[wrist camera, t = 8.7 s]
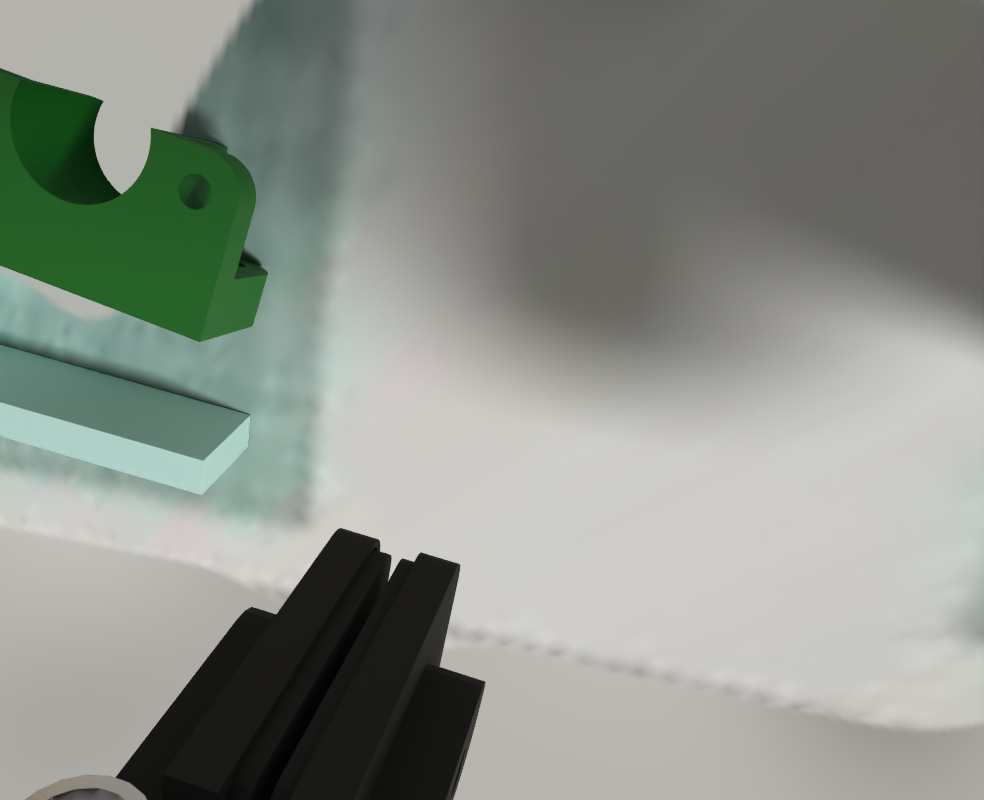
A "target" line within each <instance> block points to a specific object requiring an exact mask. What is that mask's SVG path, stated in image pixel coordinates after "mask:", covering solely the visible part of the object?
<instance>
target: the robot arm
mask: <svg viewBox="0 0 984 800" xmlns="http://www.w3.org/2000/svg"><path fill="white" fill-rule="evenodd" d="M390 566H391V555H389V554H386V553H383V552H380V541H379V540H378V539H375V538H372V537H368V536H365V535H362V534H358V533H355V532H352V531H349V530H345V529H342V528H340V529H338V530H337V531H336V532H335V533H334V534H333V536H332V537H331V538H330V540H329V541H328V543H327V544H326V545H325V547H324V548H323V550H322V551H321V552H320V554H319V555H318V557H317V558H316V559H315V561H314V562H313V564H312V565H311V567H310V568H309V569H308V571H307V572H306V574H305V575H304V576H303V578H302V579H301V581H300V582H299V583H298V585H297V586H296V588H295V589H294V590H293V592H292V593H291V595H290V596H289V598H288V599H287V600H286V602H285V603H284V605H283V606H282V607H281V609H280V610H279V612H278V613H277V614H273V613H269V612H266V611H263V610H260V609H257V608H253V607H251V608H249V609H247V610H245V611H244V612H243V614H242V615H241V616H240V617H239V618H238V619H237V620H236V622H235V623H234V624H233V625H232V627H231V628H230V629H229V631H228V632H227V634H226V635H225V636H224V637H223V638H222V640H221V641H220V642H219V644H218V645H217V646H216V648H215V649H214V650H213V652H212V653H211V654H210V655H209V657H208V658H207V659H206V661H205V662H204V663H203V664H202V666H201V667H200V668H199V670H198V671H197V672H196V674H195V675H194V676H193V677H192V679H191V680H190V681H189V683H188V684H187V685H186V687H185V688H184V689H183V691H182V692H181V693H180V694H179V696H178V697H177V698H176V700H175V701H174V702H173V704H172V705H171V706H170V707H169V709H168V710H167V711H166V713H165V714H164V715H163V717H162V718H161V719H160V720H159V722H158V723H157V724H156V726H155V727H154V728H153V729H152V731H151V732H150V733H149V735H148V736H147V737H146V739H145V740H144V741H143V742H142V744H141V745H140V746H139V748H138V749H137V750H136V752H135V753H134V754H133V755H132V757H131V758H130V760H129V761H128V762H127V763H126V765H125V766H124V767H123V769H122V770H121V771H120V773H119V774H118V775H117V776H116V778H115V777H112V776H103V775H102V776H100V775H83V776H78V777H73V778H68V779H63V780H60V781H58V782H56V783H53V784H51V785H49V786H47V787H44V788H42V789H40V790H38V791H36V792H35V793H33V794H32V795H31V796H30V797H28V798H27V799H25V800H453V798H454V795H455V792H456V789H457V786H458V782H459V779H460V776H461V773H462V769H463V766H464V763H465V759H466V756H467V752H468V749H469V745H470V742H471V738H472V734H473V731H474V727H475V723H476V719H477V716H478V712H479V708H480V704H481V700H482V696H483V691H484V687H485V682H484V681H481V680H478V679H475V678H472V677H468V676H466V675H462V674H460V673H457V672H453V671H450V670H447V669H444V668H441V667H439V666H440V662H441V657H442V652H443V648H444V643H445V638H446V634H447V629H448V624H449V620H450V615H451V610H452V606H453V601H454V596H455V591H456V587H457V582H458V577H459V572H460V564H457V563H454V562H451V561H447V560H444V559H441V558H437V557H434V556H431V555H428V554H424V553H420V554H419V555H418V556H417V558H416V560H415V562H412V561H409V560H406V559H401V560H400V562H399V563H398V565H397V567H396V569H395V570H394V572H393V574H392V576H391V578H390V579H389V581H388V578H389V572H390Z"/></svg>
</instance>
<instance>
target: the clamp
mask: <svg viewBox="0 0 984 800" xmlns="http://www.w3.org/2000/svg"><path fill="white" fill-rule="evenodd" d="M102 103H103V101H102V100H100V99H97V98H95V97H92V96H89V95H85V94H81V93H78V92H73V91H70V90H66V89H63V88H59V87H55V86H51V85H48V84H44V83H40V82H36V81H33V80H30V79H28V78H25V77H22V76H19V75H17V74H14V73H11V72H9V71H6V70H3V69H1V68H0V266H3V267H6V268H8V269H11V270H13V271H16V272H19V273H21V274H24V275H27V276H29V277H32V278H34V279H37V280H40V281H42V282H45V283H48V284H50V285H53V286H55V287H58V288H61V289H63V290H66V291H68V292H71V293H74V294H76V295H79V296H81V297H84V298H87V299H89V300H92V301H95V302H97V303H100V304H102V305H105V306H107V307H110V308H113V309H115V310H118V311H120V312H123V313H126V314H128V315H131V316H134V317H136V318H139V319H141V320H144V321H147V322H149V323H152V324H154V325H157V326H160V327H162V328H165V329H167V330H170V331H173V332H175V333H178V334H181V335H183V336H186V337H188V338H191V339H194V340H196V341H199V342H201V341H204V340H208V339H211V338H215V337H218V336H221V335H225V334H228V333H231V332H235V331H238V330H241V329H245V328H248V327H251V326H252V325H253V322H254V319H255V316H256V312H257V309H258V305H259V302H260V299H261V295H262V292H263V288H264V285H265V281H266V278H267V275H268V272H267V271H266V270H265V269H263V268H261V267H260V266H258V265H255V264H253V263H250V262H247V261H245V260H242V259H240V257H241V254H242V250H243V247H244V243H245V240H246V236H247V232H248V229H249V225H250V222H251V218H252V215H253V211H254V208H255V202H256V190H255V185H254V182H253V179H252V177H251V175H250V173H249V171H248V170H247V168H246V167H245V166H244V165H243V164H242V163H241V162H240V161H239V160H238V159H237V158H235V157H234V156H232V155H230V154H228V153H227V148H228V147H225V146H222V145H220V144H217V143H214V142H210V141H206V140H202V139H197V138H193V137H189V136H184V135H180V134H176V133H171V132H167V131H162V130H158V129H153V128H151V144H150V151H149V155H148V159H147V161H146V164H145V166H144V169H143V170H142V172H141V174H140V176H139V177H138V179H137V180H136V181H135V183H134V184H133V185H132V186H131V187H130V188H129V189H128V190H127V191H126V192H124V193H123V194H120V193H119V192H118V191H117V190H116V189H115V188H114V187H113V186H112V185H111V184H110V182H109V181H108V180H107V178H106V177H105V175H104V174H103V172H102V170H101V168H100V165H99V163H98V160H97V157H96V153H95V147H94V125H95V121H96V117H97V114H98V112H99V109H100V107H101V105H102Z"/></svg>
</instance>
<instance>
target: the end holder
mask: <svg viewBox="0 0 984 800" xmlns="http://www.w3.org/2000/svg"><path fill="white" fill-rule="evenodd" d="M249 427H250V415H248V414H244V413H241V412H237V411H234V410H230V409H227V408H223V407H220V406H216V405H212V404H209V403H205V402H202V401H198V400H195V399H191V398H188V397H184V396H181V395H177V394H173V393H170V392H166V391H163V390H159V389H156V388H152V387H149V386H145V385H142V384H138V383H135V382H131V381H127V380H124V379H120V378H117V377H113V376H110V375H106V374H103V373H99V372H96V371H92V370H89V369H85V368H81V367H78V366H74V365H71V364H67V363H64V362H60V361H57V360H53V359H50V358H46V357H42V356H39V355H35V354H32V353H28V352H25V351H21V350H18V349H14V348H11V347H7V346H4V345H0V436H2V437H5V438H8V439H12V440H15V441H19V442H22V443H25V444H29V445H32V446H36V447H39V448H43V449H46V450H49V451H53V452H56V453H60V454H63V455H67V456H70V457H73V458H77V459H80V460H84V461H87V462H91V463H94V464H97V465H101V466H104V467H108V468H111V469H114V470H118V471H121V472H125V473H128V474H132V475H135V476H138V477H142V478H145V479H149V480H152V481H156V482H159V483H162V484H166V485H169V486H173V487H176V488H180V489H183V490H186V491H190V492H193V493H197V494H200V495H202V494H203V493H204V492H205V491H206V490H207V489H208V488H209V487H210V486H211V485H212V484H213V483H214V482H215V481H216V480H217V479H218V477H219V476H220V475H221V474H222V473H223V472H224V471H225V470H226V469H227V468H228V467H229V466H230V465H231V464H232V463H233V462H234V461H235V460H236V459H237V458H238V457H239V456H240V455H241V454H242V452H243V451H244V450H245V449H246V448H247V447H248V439H249Z"/></svg>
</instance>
